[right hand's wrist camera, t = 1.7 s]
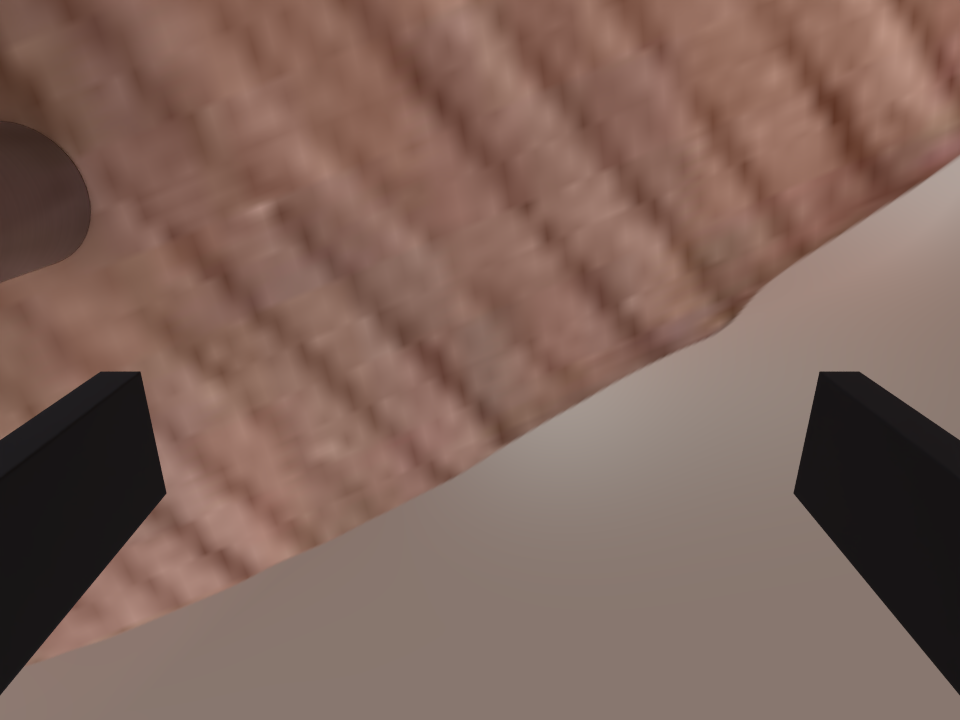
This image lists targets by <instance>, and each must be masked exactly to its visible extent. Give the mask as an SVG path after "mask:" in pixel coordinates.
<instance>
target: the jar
mask: <svg viewBox="0 0 960 720" xmlns="http://www.w3.org/2000/svg"><path fill="white" fill-rule="evenodd" d="M89 222H90V202H89V197H88V192H87V189H86V186H85V183H84V181H83V179H82V177H81V175H80V173H79V171H78V170H77V168H76V166H75V165H74V164H73V162H72V161H71V160H70V158H69V157H68V156H67V155H66V154H65V153H64V152H63V150H62V149H61V148H59V147H58V146H57V145H56V144H55V143H54V142H53V141H51V140H50V139H48V138H47V137H45V136H44V135H42V134H41V133H39V132H37V131H35V130H33V129H31V128H28V127H26V126H23V125H20V124H16V123H12V122H5V121H0V283H1V282H4V281H7V280H10V279H12V278H15V277H18V276H21V275H24V274H27V273H29V272H32V271H35V270H38V269H41V268H43V267H46V266H49V265H52V264H55V263H57V262H60V261H62V260H64V259H66V258H67V257H69V256H70V255H71V254H73V253H74V252H75V251H76V250H77V249H78V247H79V246H80V245H81V243H82V242H83V240H84V238H85V236H86V233H87V231H88V227H89Z"/></svg>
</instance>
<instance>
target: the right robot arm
mask: <svg viewBox="0 0 960 720" xmlns="http://www.w3.org/2000/svg"><path fill="white" fill-rule="evenodd" d="M165 494H166V489H165V484H164V480H163V475H162V470H161V466H160V461H159V456H158V452H157V447H156V442H155V438H154V433H153V428H152V424H151V419H150V414H149V410H148V405H147V400H146V396H145V391H144V386H143V382H142V377H141V372H100V373H98V374H97V375H95V376H94V377H92V378H91V379H89V380H88V381H86V382H85V383H83V384H82V385H80V386H79V387H78V388H76V389H75V390H73V391H72V392H70V393H69V394H67V395H66V396H64V397H63V398H61V399H60V400H59V401H57V402H56V403H54V404H53V405H51V406H50V407H48V408H47V409H45V410H44V411H42V412H41V413H39V414H38V415H37V416H35V417H34V418H32V419H31V420H29V421H28V422H26V423H25V424H23V425H22V426H20V427H19V428H17V429H16V430H15V431H13V432H12V433H10V434H9V435H7V436H6V437H4V438H3V439H1V440H0V695H1V694H2V692H3V691H4V690H5V689H6V688H7V686H8V685H9V684H10V683H11V681H12V680H13V679H14V678H15V677H16V675H17V674H18V673H19V672H20V671H21V669H22V668H23V667H24V666H25V664H26V663H27V662H28V661H29V660H30V658H31V657H32V656H33V655H34V654H35V652H36V651H37V650H38V649H39V647H40V646H41V645H42V644H43V643H44V641H45V640H46V639H47V638H48V637H49V635H50V634H51V633H52V632H53V630H54V629H55V628H56V627H57V626H58V624H59V623H60V622H61V621H62V620H63V618H64V617H65V616H66V615H67V613H68V612H69V611H70V610H71V609H72V607H73V606H74V605H75V604H76V603H77V601H78V600H79V599H80V598H81V596H82V595H83V594H84V593H85V592H86V590H87V589H88V588H89V587H90V586H91V584H92V583H93V582H94V581H95V579H96V578H97V577H98V576H99V575H100V573H101V572H102V571H103V570H104V569H105V567H106V566H107V565H108V564H109V562H110V561H111V560H112V559H113V558H114V556H115V555H116V554H117V553H118V552H119V550H120V549H121V548H122V547H123V545H124V544H125V543H126V542H127V541H128V539H129V538H130V537H131V536H132V535H133V533H134V532H135V531H136V530H137V528H138V527H139V526H140V525H141V524H142V522H143V521H144V520H145V519H146V518H147V516H148V515H149V514H150V513H151V511H152V510H153V509H154V508H155V507H156V505H157V504H158V503H159V502H160V501H161V499H162V498H163V497H164V496H165ZM794 494H795V496H796V497H797V498H798V499H799V501H800V502H801V503H802V504H803V505H804V507H805V508H806V509H807V510H808V511H809V513H810V514H811V515H812V516H813V518H814V519H815V520H816V521H817V522H818V524H819V525H820V526H821V527H822V528H823V530H824V531H825V532H826V533H827V534H828V536H829V537H830V538H831V539H832V541H833V542H834V543H835V544H836V545H837V547H838V548H839V549H840V550H841V552H842V553H843V554H844V555H845V556H846V558H847V559H848V560H849V561H850V562H851V564H852V565H853V566H854V567H855V569H856V570H857V571H858V572H859V573H860V575H861V576H862V577H863V578H864V579H865V581H866V582H867V583H868V584H869V585H870V587H871V588H872V589H873V590H874V592H875V593H876V594H877V595H878V596H879V598H880V599H881V600H882V601H883V603H884V604H885V605H886V606H887V607H888V609H889V610H890V611H891V612H892V613H893V615H894V616H895V617H896V618H897V620H898V621H899V622H900V623H901V624H902V626H903V627H904V628H905V629H906V630H907V632H908V633H909V634H910V635H911V636H912V638H913V639H914V640H915V641H916V643H917V644H918V645H919V646H920V647H921V649H922V650H923V651H924V652H925V654H926V655H927V656H928V657H929V658H930V660H931V661H932V662H933V663H934V664H935V666H936V667H937V668H938V669H939V671H940V672H941V673H942V674H943V675H944V677H945V678H946V679H947V680H948V681H949V683H950V684H951V685H952V686H953V688H954V689H955V690H956V691H957V692H958V694H959V695H960V440H959V439H957V438H956V437H954V436H953V435H951V434H950V433H948V432H947V431H945V430H944V429H942V428H941V427H940V426H938V425H937V424H935V423H934V422H932V421H931V420H929V419H928V418H926V417H925V416H923V415H922V414H920V413H919V412H918V411H916V410H915V409H913V408H912V407H910V406H909V405H907V404H906V403H904V402H903V401H901V400H900V399H899V398H897V397H896V396H894V395H893V394H891V393H890V392H888V391H887V390H885V389H884V388H882V387H881V386H879V385H878V384H877V383H875V382H874V381H872V380H871V379H869V378H868V377H866V376H865V375H863V374H862V373H860V372H819V377H818V382H817V386H816V391H815V396H814V400H813V405H812V410H811V414H810V419H809V424H808V428H807V433H806V438H805V442H804V447H803V452H802V456H801V461H800V466H799V470H798V475H797V480H796V484H795V489H794Z"/></svg>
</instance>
